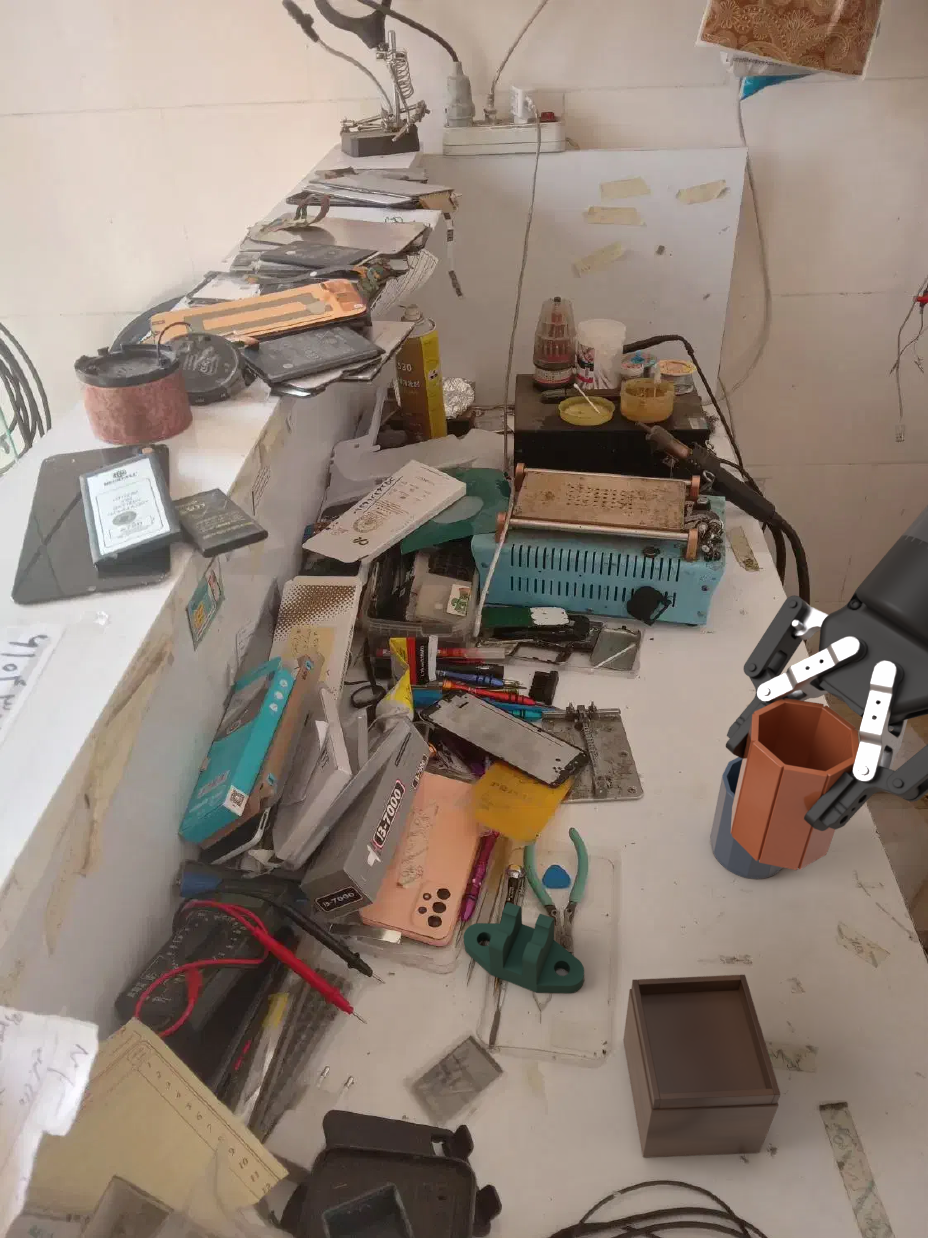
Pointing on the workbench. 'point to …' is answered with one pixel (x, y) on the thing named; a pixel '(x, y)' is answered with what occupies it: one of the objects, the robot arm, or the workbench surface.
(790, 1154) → the workbench surface
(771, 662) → the robot arm
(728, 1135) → the box
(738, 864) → the slate cup
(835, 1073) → the workbench surface
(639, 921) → the workbench surface
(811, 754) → the terracotta cup
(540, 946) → the mount
